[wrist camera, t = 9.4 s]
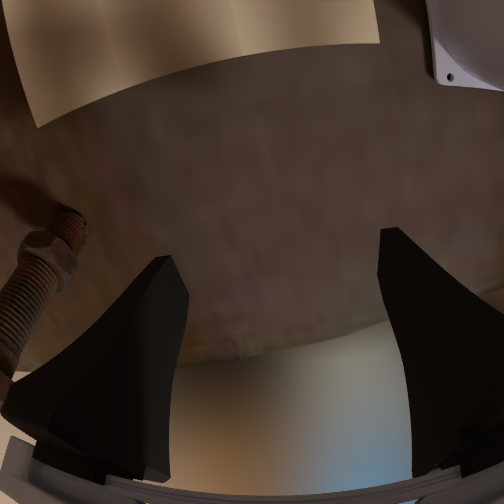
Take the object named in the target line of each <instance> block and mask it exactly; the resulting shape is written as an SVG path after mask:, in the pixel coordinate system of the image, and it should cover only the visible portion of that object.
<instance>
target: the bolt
mask: <svg viewBox="0 0 504 504" xmlns="http://www.w3.org/2000/svg"><path fill="white" fill-rule="evenodd" d="M83 223H84V220H83V219H82V218H81V217H80V216H78V215H77V214H75V213H72V212H65V213H62V214H60V215H59V216H58V217H56V218H55V220H54V221H53V222H52V223H51V224H50V225H49V227H48V228H47V229H46V231H31V232H29V233H28V235H27V236H26V237H25V238H24V239H23V241H22V242H21V245H20V248H19V251H18V255H17V261H18V266H17V268H16V269H15V270H14V272H13V274H12V275H11V276H10V278H9V280H8V281H7V283H6V284H5V285H4V287H3V288H2V289H1V291H0V410H1V407H2V405H3V402H4V400H5V397H6V395H7V392H8V390H9V388H10V386H11V384H12V383H14V382H13V381H12V380H11V379H12V377H13V375H14V373H15V370H16V368H17V366H18V364H19V357H20V356H21V353H22V352H23V348H25V344H27V342H28V341H27V340H28V339H29V338H30V335H31V334H32V331H33V330H34V327H35V326H36V323H37V322H38V320H39V319H40V317H41V315H42V313H43V311H44V310H45V307H46V306H47V303H48V302H49V300H50V299H51V297H52V296H53V295H57V294H65V292H66V290H67V288H68V287H69V285H70V283H71V281H72V279H73V277H74V275H75V272H76V270H77V268H78V263H77V260H76V257H77V255H78V254H79V252H80V251H81V249H82V248H83V246H84V244H85V243H86V239H87V238H88V232H89V229H88V227H87V224H86V225H85V226H84V225H83Z"/></svg>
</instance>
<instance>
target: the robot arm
mask: <svg viewBox="0 0 504 504" xmlns="http://www.w3.org/2000/svg"><path fill="white" fill-rule="evenodd" d="M425 1H426V7H427V14H428V21H429V29H430V37H431V47H432V59H433V74H434V79H435V81H436V82H437V83H439V84H441V85H451V86H464V87H475V88H484V89H492V90H500V91H504V0H425ZM448 74H450V75H451V78H450V80H447V75H448ZM377 276H378V280H379V285H380V289H381V294H382V298H383V302H384V305H385V308H386V311H387V313H388V316H389V319H390V322H391V325H392V328H393V331H394V335H395V338H396V341H397V344H398V347H399V350H400V353H401V358H402V362H403V366H404V372H405V378H406V384H407V391H408V398H409V408H410V418H411V432H412V477H413V479H409V480H404V481H400V482H396V483H391V484H386V485H381V486H376V487H370V488H364V489H357V490H350V491H342V492H333V493H324V494H311V495H295V496H294V495H292V496H247V495H227V494H214V493H205V492H196V491H188V490H181V489H174V488H168V487H161V486H156V485H152V484H146V483H142V482H137V481H133V479H138V480H143V479H144V480H149V481H154V482H160V483H164V482H166V481H167V480H169V479H170V477H171V476H170V464H169V463H170V462H169V416H170V402H171V391H172V383H173V377H174V372H175V367H176V363H177V359H178V355H179V351H180V346H181V342H182V338H183V334H184V330H185V326H186V321H187V314H188V305H189V293H188V291H187V289H186V287H185V285H184V283H183V281H182V278H181V276H180V274H179V272H178V270H177V267H176V265H175V263H174V261H173V259H172V256H171V255H168V256H160V257H156V258H154V259H153V260H152V261H151V262H150V263H149V264H148V265H147V267H146V268H145V269H144V270H143V271H142V272H141V273H140V274H139V275H138V276H137V278H136V279H135V280H134V281H133V282H132V283H131V284H130V285H129V287H128V288H127V289H126V290H125V291H124V292H123V293H122V294H121V296H120V297H119V298H118V299H117V300H116V301H115V302H114V303H113V304H112V305H111V306H110V307H109V308H108V310H107V311H106V312H105V313H104V314H103V315H102V316H101V317H100V318H99V319H98V320H97V321H96V322H95V323H94V324H93V325H92V326H91V327H90V328H89V329H88V330H87V331H85V332H84V333H83V334H82V335H81V336H80V337H79V338H78V339H77V340H75V341H74V342H73V343H72V344H70V345H69V346H68V347H67V348H65V349H64V350H63V351H62V352H61V353H59V354H58V355H57V356H55V357H54V358H53V359H51V360H50V361H48V362H47V363H46V364H44V365H43V366H41V367H40V368H38V369H37V370H35V371H33V372H32V373H30V374H28V375H27V376H25V377H23V378H22V379H20V380H18V381H16V382H14V383H12V384H11V386H10V388H9V390H8V392H7V395H6V397H5V400H4V402H3V405H2V407H1V410H0V413H1V415H2V417H3V418H4V419H6V420H7V421H8V422H9V423H11V424H12V425H14V426H15V427H17V428H18V429H20V430H21V431H23V432H25V433H26V434H27V435H29V436H30V437H32V438H34V439H35V440H37V442H36V445H35V446H34V445H32V444H29V443H27V442H25V441H23V440H21V439H19V438H17V437H15V436H11V437H10V440H9V443H8V446H7V449H6V453H5V456H4V460H3V463H2V467H1V470H0V491H2V492H4V493H5V494H6V495H8V496H9V497H10V498H12V499H13V500H15V501H16V502H17V503H19V504H146V503H149V504H398V503H403V502H407V501H411V500H415V499H418V500H417V501H416V502H415V504H504V314H502V313H501V312H499V311H498V310H496V309H495V308H493V307H492V306H490V305H489V304H487V303H486V302H484V301H483V300H482V299H480V298H479V297H478V296H476V295H475V294H474V293H472V292H471V291H470V290H468V289H467V288H466V287H464V286H463V285H462V284H461V283H459V282H458V281H457V280H456V279H455V278H454V277H452V276H451V275H450V274H449V273H448V272H446V271H445V270H444V269H443V268H442V267H441V266H440V265H438V264H437V263H436V262H435V261H434V260H433V259H432V258H431V257H430V256H429V255H427V254H426V253H425V252H424V251H423V250H422V249H421V248H420V247H419V246H418V245H417V244H416V243H414V242H413V241H412V240H411V239H410V238H409V237H408V236H407V235H406V234H405V233H404V232H403V231H401V230H400V229H399V228H398V227H394V228H386V229H381V231H380V247H379V260H378V272H377ZM419 498H420V499H419ZM144 502H145V503H144Z"/></svg>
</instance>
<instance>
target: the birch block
mask: <svg viewBox="0 0 504 504" xmlns="http://www.w3.org/2000/svg"><path fill="white" fill-rule="evenodd" d="M2 4H3V10H4V15H5V20H6V25H7V29H8V34H9V38H10V42H11V46H12V50H13V54H14V58H15V62H16V65H17V69H18V72H19V76H20V79H21V82H22V85H23V88H24V92H25V95H26V98H27V101H28V103H29V106H30V109H31V112H32V115H33V118H34V120H35V123H36V126H37V128H39V127H41V126H43V125H44V124H46V123H48V122H50V121H52V120H54V119H56V118H58V117H60V116H62V115H64V114H66V113H69V112H71V111H73V110H75V109H77V108H79V107H82V106H84V105H86V104H88V103H91V102H93V101H95V100H98V99H100V98H102V97H105V96H107V95H110V94H112V93H115V92H118V91H120V90H123V89H126V88H128V87H131V86H134V85H137V84H139V83H142V82H145V81H148V80H151V79H154V78H158V77H161V76H164V75H167V74H171V73H174V72H177V71H181V70H184V69H188V68H192V67H196V66H200V65H204V64H208V63H212V62H216V61H220V60H225V59H230V58H235V57H240V56H245V55H250V54H256V53H262V52H268V51H275V50H282V49H290V48H298V47H307V46H318V45H332V44H352V43H380V41H379V34H378V27H377V21H376V15H375V9H374V4H373V0H2Z"/></svg>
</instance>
